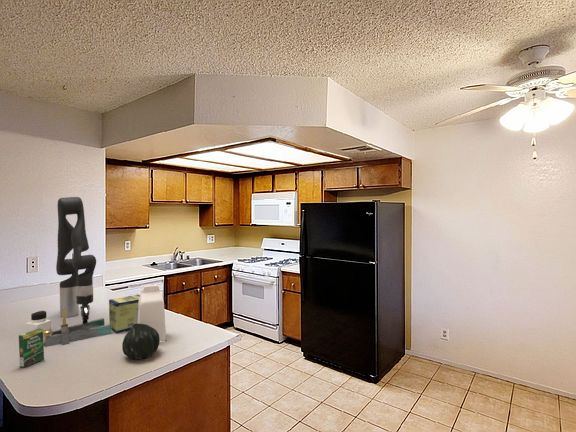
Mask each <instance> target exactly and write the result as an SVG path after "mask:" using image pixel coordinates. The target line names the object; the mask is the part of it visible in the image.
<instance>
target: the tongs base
mask: <svg viewBox="0 0 576 432" xmlns="http://www.w3.org/2000/svg"><path fill="white" fill-rule="evenodd" d="M68 327H69V324H68V323H66V326H63V324H60V329H61V334H56V335H50V333H51V332H52V331H53V329H52V328H51V329H47V330H43V334H44V337H43V342H44V346H45V347H49V346H50V347H51V346H55V345H59V344H61V345H62V346H64V345H68V344H70V342H76V341H79V340H81V341H82V340H84V339H85V340H86V339H91V338H94V337H95V338H96V337H101V336H106V335H111V334H113V333H112V332H113V331H112V329H111V324H110V325H109V324H104V326H99V327H94V328H89V329H83V330H78V331H72V332H69V329H68Z"/></svg>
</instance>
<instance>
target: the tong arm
mask: <svg viewBox="0 0 576 432" xmlns="http://www.w3.org/2000/svg"><path fill="white" fill-rule="evenodd" d="M104 325H105V318H104V317H102V318H97V319H93V320H90V321H88V322H86V323H83V322H82V323H79V324H78V323H77V324H75V325H72V326H71V325H70V326H68V329H69V332H72V331H78V330H83V329H89V328H94V327H99V326H104ZM56 334H61V328H59V329H55V330H52V332H51V333H50V335H56Z"/></svg>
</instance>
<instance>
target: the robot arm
mask: <svg viewBox="0 0 576 432" xmlns="http://www.w3.org/2000/svg"><path fill="white" fill-rule="evenodd" d="M83 203H84V202H83V200H82V198H81V197H80V196H70V197H69V196H68V197H67V196H66V197H60V198H58V200H57V204H56V205H57V219H58V220H57V221H58V222H57V223H58V226H57V257H56V267H55V271H56V275H58V276H67V275H71V276H69V278H67V279H64V280H62V281H60V282H59V316H60V318H62V309H66V318H71V317H76V316H78V315H79V313H80V315H81V319H82V323H86V322H89V319H90V318H89V317H90V310H91V309H90V308H91V306H90V304H91V303H93V302H94V286H93V285H94V283H93V279H94V278H93V277H94V272H95V268H96V266H97V258H96V257H95V255H94V254H85V255H82V253H84V252H86V251H88V250H89V249H90V246H89V241H88V237H87V233H86V230H87V229H86V217H85V209H84V204H83ZM68 215H69V216H70V215H71V216H72V215H76V217H77V218H76V219H77V220H76V223H75V225H74V226H73V225H72V223H70V222H69V221H68V219H67V216H68ZM72 250H73V251H72ZM71 251H72V258H67V255H69V253H70V252H71ZM80 270H81V271H82V270H84V272H81V273H79V271H80ZM79 305H80V306H79ZM79 309H80V310H79ZM79 311H80V312H79Z"/></svg>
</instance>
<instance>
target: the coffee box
mask: <svg viewBox="0 0 576 432" xmlns="http://www.w3.org/2000/svg"><path fill="white" fill-rule="evenodd" d="M44 346H45V345H44V337H43V329H40V328H38V329H36V330H33V331H30V332H27V331H26V332H25V333H22V334H18V350H19V367H20V368H23V369H24V368H25V369H26V368H27V367H30V366H31V365H32V366H33V365H35V364H36V363H40V362H41V361H42V362H43V361H44V360H45V349H44V348H45V347H44Z"/></svg>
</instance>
